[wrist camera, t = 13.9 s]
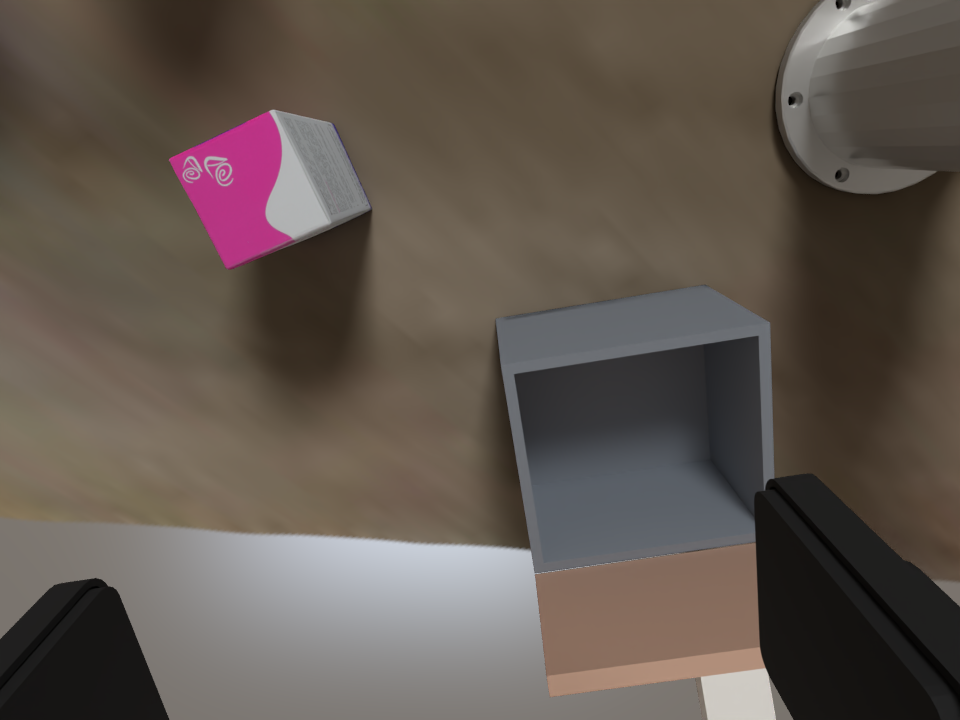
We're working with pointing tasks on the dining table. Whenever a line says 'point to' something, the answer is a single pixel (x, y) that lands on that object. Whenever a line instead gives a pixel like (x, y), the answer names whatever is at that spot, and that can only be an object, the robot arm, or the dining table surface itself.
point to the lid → (660, 628)
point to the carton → (638, 425)
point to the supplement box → (270, 185)
